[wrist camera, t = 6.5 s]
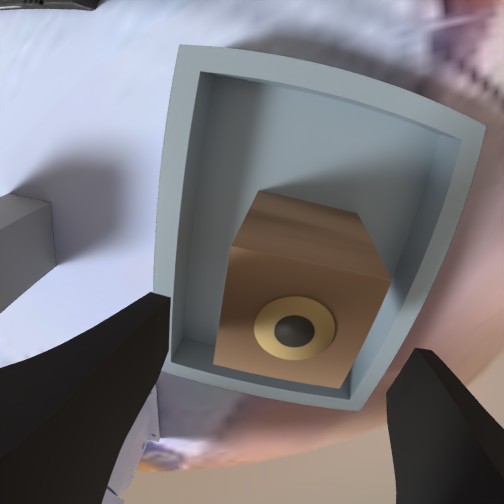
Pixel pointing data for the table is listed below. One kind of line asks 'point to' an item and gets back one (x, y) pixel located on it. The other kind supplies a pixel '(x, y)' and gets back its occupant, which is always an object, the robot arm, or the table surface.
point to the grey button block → (24, 245)
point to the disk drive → (49, 4)
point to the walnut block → (299, 292)
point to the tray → (301, 194)
